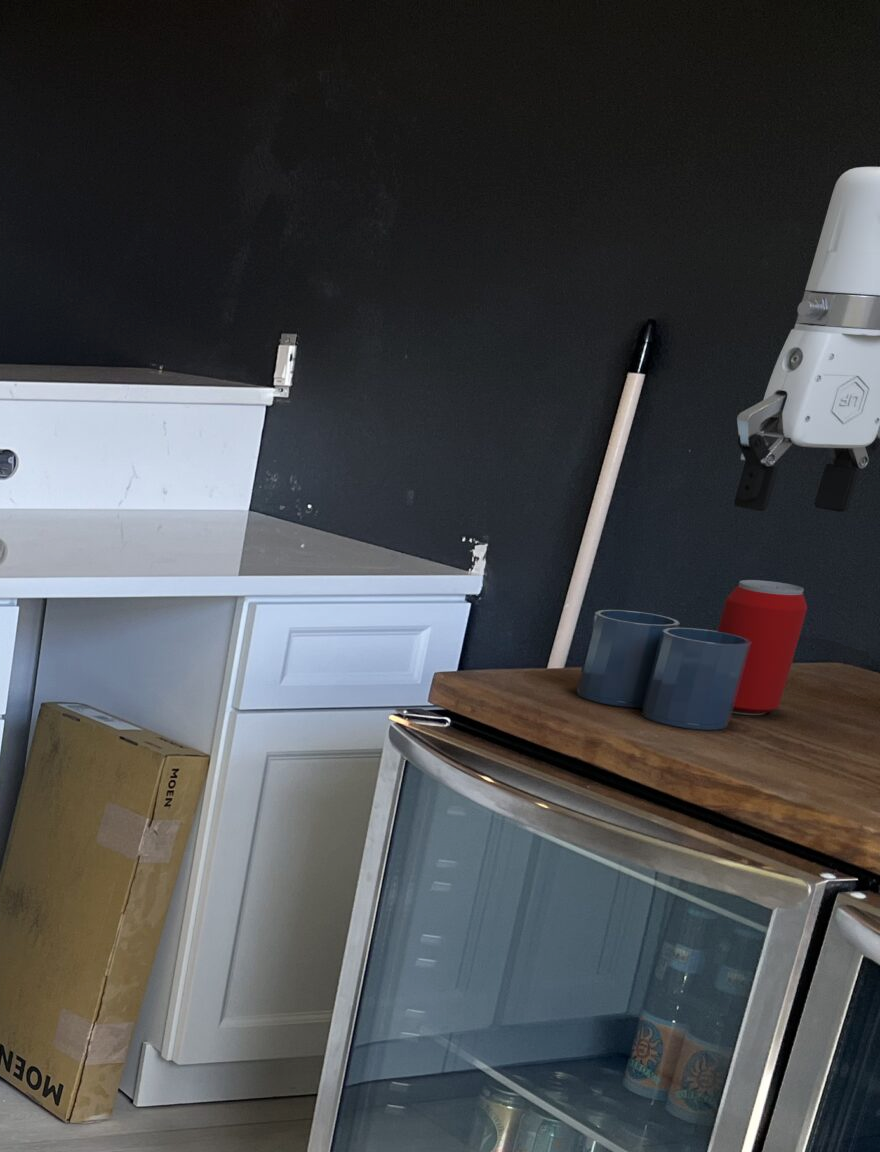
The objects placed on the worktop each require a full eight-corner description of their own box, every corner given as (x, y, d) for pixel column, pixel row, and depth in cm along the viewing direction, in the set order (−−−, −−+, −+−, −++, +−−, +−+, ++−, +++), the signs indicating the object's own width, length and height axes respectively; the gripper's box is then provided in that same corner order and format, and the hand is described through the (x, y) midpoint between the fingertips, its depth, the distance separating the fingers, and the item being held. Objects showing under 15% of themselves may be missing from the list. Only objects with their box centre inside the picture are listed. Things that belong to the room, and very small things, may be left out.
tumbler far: (651, 695, 186) (672, 615, 183) (662, 711, 180) (684, 628, 176) (572, 686, 188) (591, 606, 185) (580, 701, 182) (600, 619, 179)
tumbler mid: (720, 716, 179) (742, 633, 176) (733, 733, 172) (758, 648, 169) (636, 706, 181) (657, 624, 178) (647, 723, 174) (669, 638, 171)
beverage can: (773, 706, 183) (807, 584, 179) (780, 721, 178) (817, 595, 173) (695, 696, 186) (727, 575, 182) (700, 711, 180) (734, 586, 176)
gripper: (808, 315, 163) (751, 515, 169) (956, 323, 168) (896, 516, 174) (737, 309, 169) (685, 501, 176) (882, 316, 174) (826, 503, 181)
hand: (790, 508), depth 175 cm, fingers open, 9 cm apart
